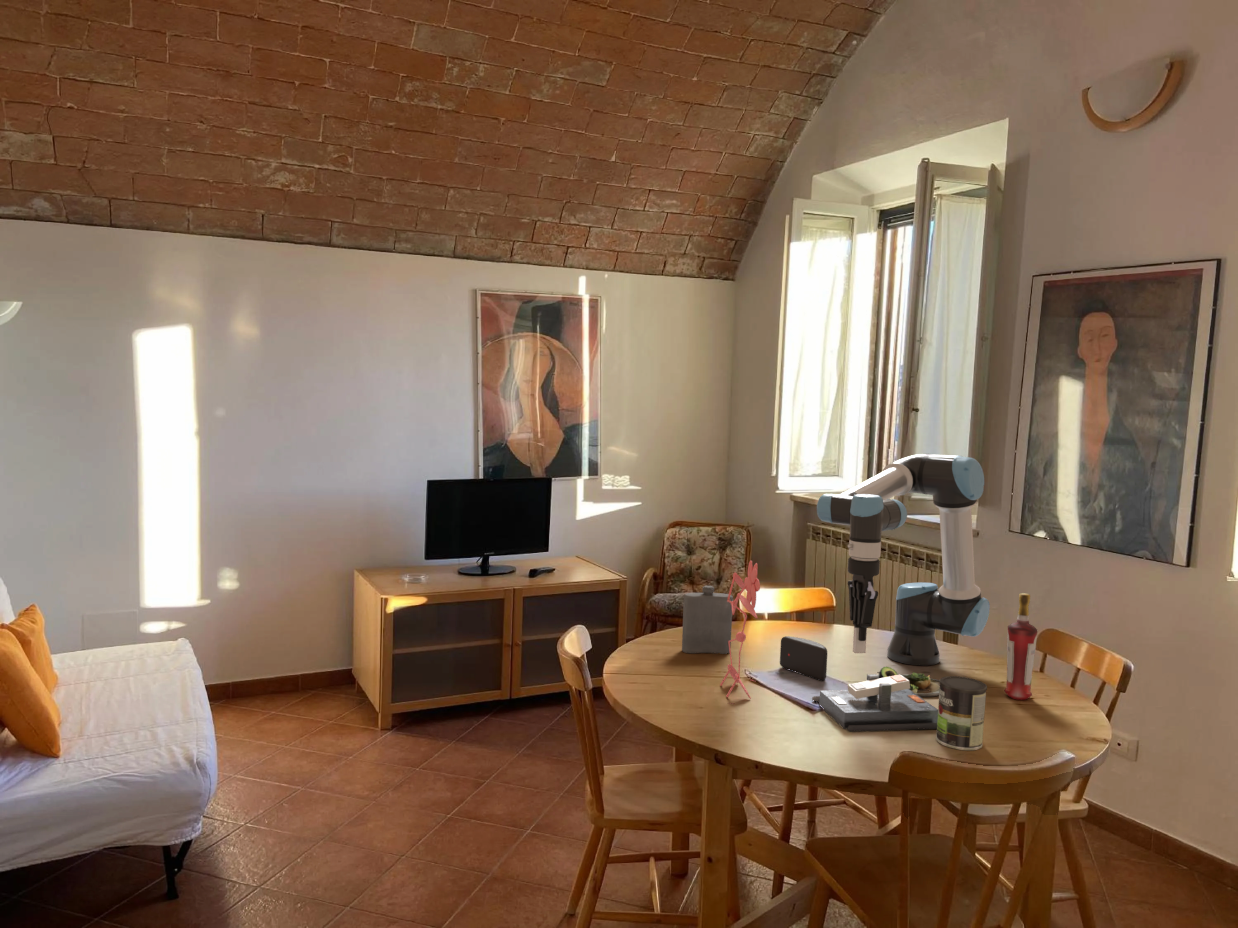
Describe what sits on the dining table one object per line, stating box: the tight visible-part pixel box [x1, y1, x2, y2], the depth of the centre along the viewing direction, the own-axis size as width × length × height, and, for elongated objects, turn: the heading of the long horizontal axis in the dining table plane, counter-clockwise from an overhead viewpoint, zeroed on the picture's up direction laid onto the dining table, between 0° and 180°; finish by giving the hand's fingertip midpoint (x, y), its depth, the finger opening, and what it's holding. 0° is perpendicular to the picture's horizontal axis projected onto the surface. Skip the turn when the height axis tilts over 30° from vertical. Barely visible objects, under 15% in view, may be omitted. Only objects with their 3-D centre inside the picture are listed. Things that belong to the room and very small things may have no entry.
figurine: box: [719, 560, 761, 705], centre depth 244 cm, size 15×26×35 cm, turn 4°
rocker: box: [847, 673, 910, 699], centre depth 229 cm, size 14×5×2 cm, turn 99°
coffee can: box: [935, 675, 988, 752], centre depth 213 cm, size 10×10×14 cm
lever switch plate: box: [818, 673, 938, 730], centre depth 229 cm, size 24×16×9 cm, turn 99°
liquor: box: [1003, 592, 1039, 701], centre depth 247 cm, size 7×7×28 cm
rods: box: [811, 695, 937, 732], centre depth 230 cm, size 24×22×1 cm
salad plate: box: [876, 666, 940, 698], centre depth 253 cm, size 19×18×5 cm
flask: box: [681, 585, 734, 655], centre depth 282 cm, size 15×6×20 cm, turn 93°
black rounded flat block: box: [779, 635, 828, 681], centre depth 263 cm, size 16×5×9 cm, turn 39°
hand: (859, 652), depth 228 cm, fingers closed
